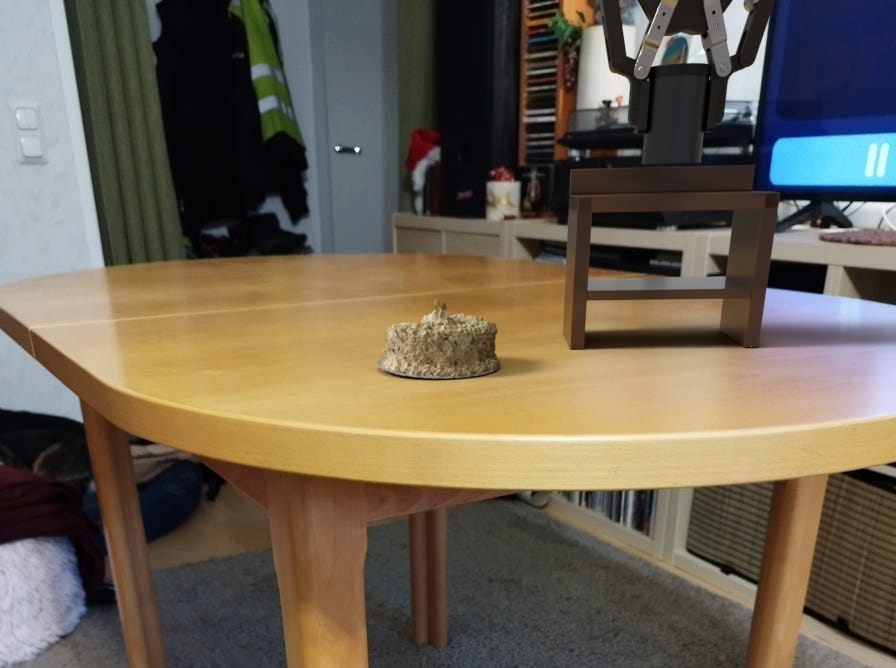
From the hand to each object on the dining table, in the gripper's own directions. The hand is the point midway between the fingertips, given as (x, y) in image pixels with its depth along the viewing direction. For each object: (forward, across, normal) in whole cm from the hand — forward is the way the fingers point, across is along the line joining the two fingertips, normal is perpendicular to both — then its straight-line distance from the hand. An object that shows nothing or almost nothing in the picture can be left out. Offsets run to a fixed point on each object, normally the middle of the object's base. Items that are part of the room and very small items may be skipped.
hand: (674, 131), depth 76 cm
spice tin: (+2, 0, 0) cm, 2 cm away
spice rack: (+17, 0, 0) cm, 17 cm away
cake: (+17, -19, -13) cm, 28 cm away
